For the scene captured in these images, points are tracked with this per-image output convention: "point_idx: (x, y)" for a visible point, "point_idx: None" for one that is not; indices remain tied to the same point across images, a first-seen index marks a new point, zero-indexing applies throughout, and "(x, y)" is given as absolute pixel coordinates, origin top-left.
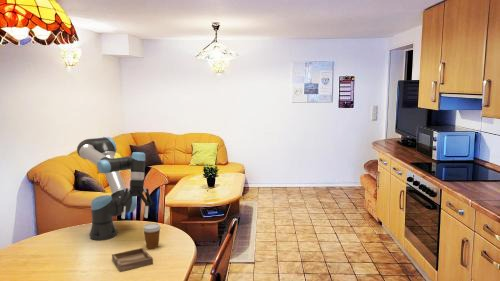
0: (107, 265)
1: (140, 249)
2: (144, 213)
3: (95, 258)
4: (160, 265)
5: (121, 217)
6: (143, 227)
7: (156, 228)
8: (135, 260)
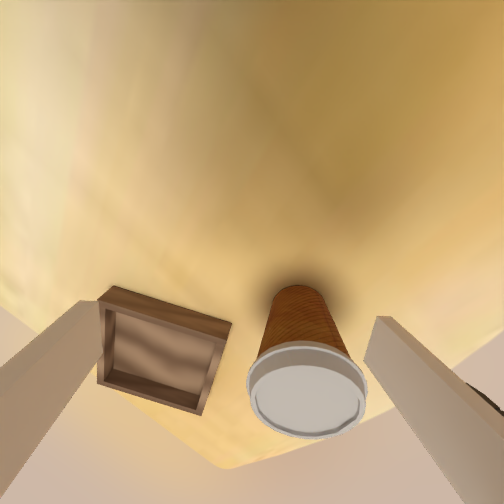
0: None
1: (212, 340)
2: (406, 350)
3: (59, 219)
4: (217, 414)
5: (74, 307)
6: (259, 374)
7: (301, 433)
8: (170, 358)
